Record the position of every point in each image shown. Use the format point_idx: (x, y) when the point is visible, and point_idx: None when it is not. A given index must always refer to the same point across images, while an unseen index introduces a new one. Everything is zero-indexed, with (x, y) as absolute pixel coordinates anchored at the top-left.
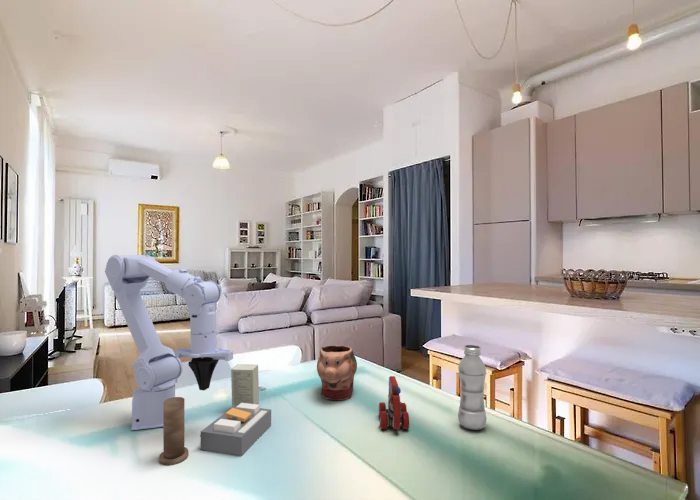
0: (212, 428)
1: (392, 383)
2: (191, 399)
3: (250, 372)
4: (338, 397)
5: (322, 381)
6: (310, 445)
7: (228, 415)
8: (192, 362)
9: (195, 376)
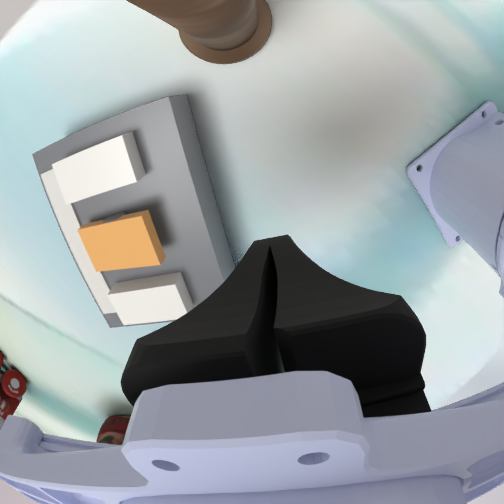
0: (148, 138)
1: None
2: (458, 316)
3: None
4: (109, 419)
5: None
6: (7, 259)
7: (132, 215)
8: (362, 347)
9: (316, 267)
